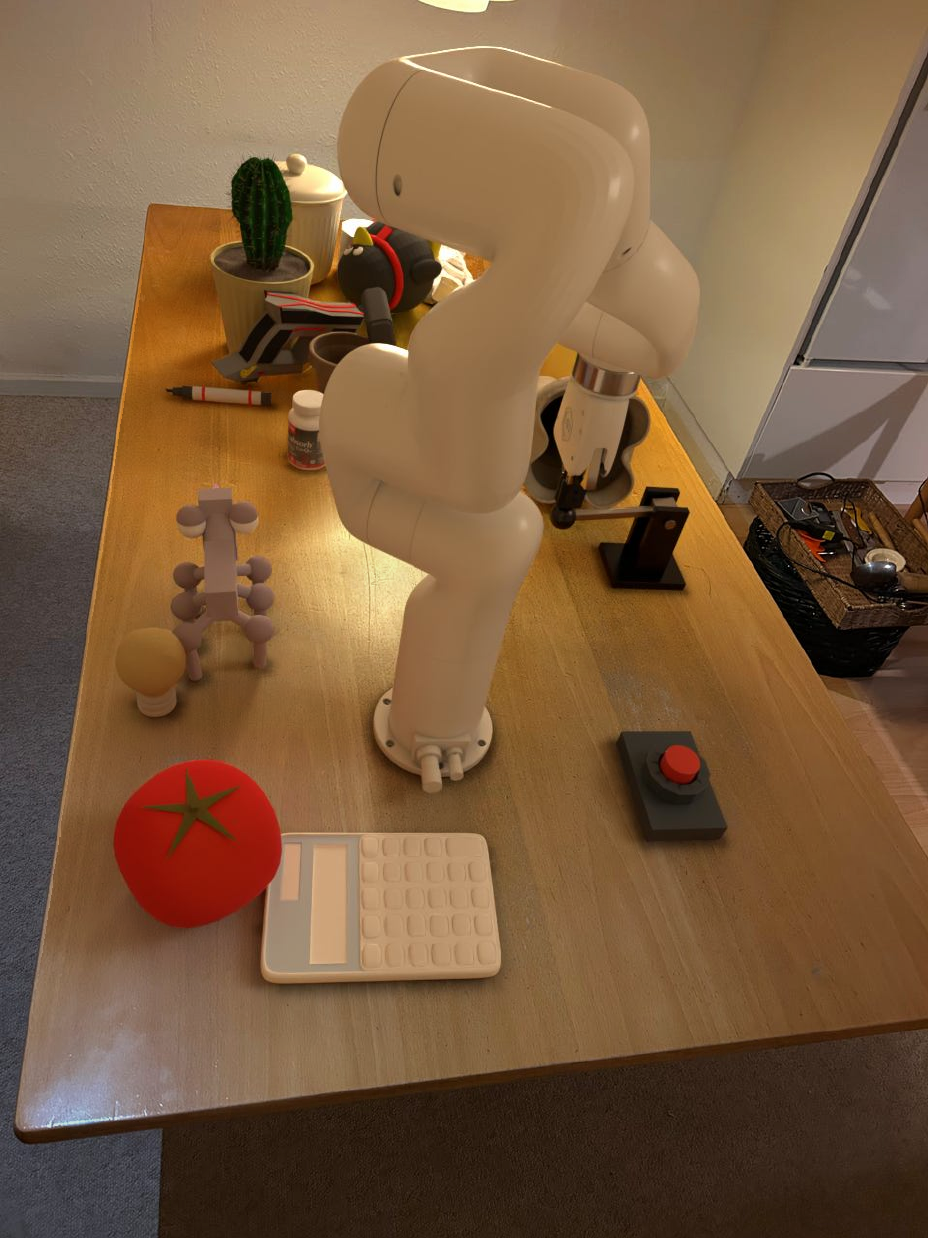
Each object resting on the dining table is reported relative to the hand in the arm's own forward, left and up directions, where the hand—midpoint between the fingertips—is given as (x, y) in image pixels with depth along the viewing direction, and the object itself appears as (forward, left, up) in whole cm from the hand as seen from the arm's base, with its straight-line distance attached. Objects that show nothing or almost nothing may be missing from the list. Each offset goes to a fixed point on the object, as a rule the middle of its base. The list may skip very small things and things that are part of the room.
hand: (567, 504), depth 106 cm
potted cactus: (+51, +39, -10) cm, 65 cm away
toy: (+77, +11, -2) cm, 78 cm away
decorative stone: (+80, +10, -9) cm, 82 cm away
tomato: (-43, +40, -10) cm, 60 cm away
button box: (-35, -6, -10) cm, 37 cm away
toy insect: (-11, +41, -10) cm, 43 cm away
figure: (+69, +6, -7) cm, 70 cm away
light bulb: (-24, +46, -10) cm, 53 cm away
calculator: (-47, +25, -10) cm, 54 cm away
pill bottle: (+21, +32, -10) cm, 39 cm away
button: (-35, -6, -6) cm, 36 cm away
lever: (0, -6, -3) cm, 7 cm away
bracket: (0, -13, -10) cm, 16 cm away
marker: (+34, +45, -10) cm, 57 cm away
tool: (+44, +36, -12) cm, 58 cm away
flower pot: (+35, +26, -10) cm, 45 cm away
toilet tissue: (+83, +20, -1) cm, 85 cm away
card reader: (+42, +19, -9) cm, 47 cm away
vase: (+23, -6, -10) cm, 26 cm away
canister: (+81, +34, -10) cm, 89 cm away
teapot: (+48, -8, -10) cm, 49 cm away
